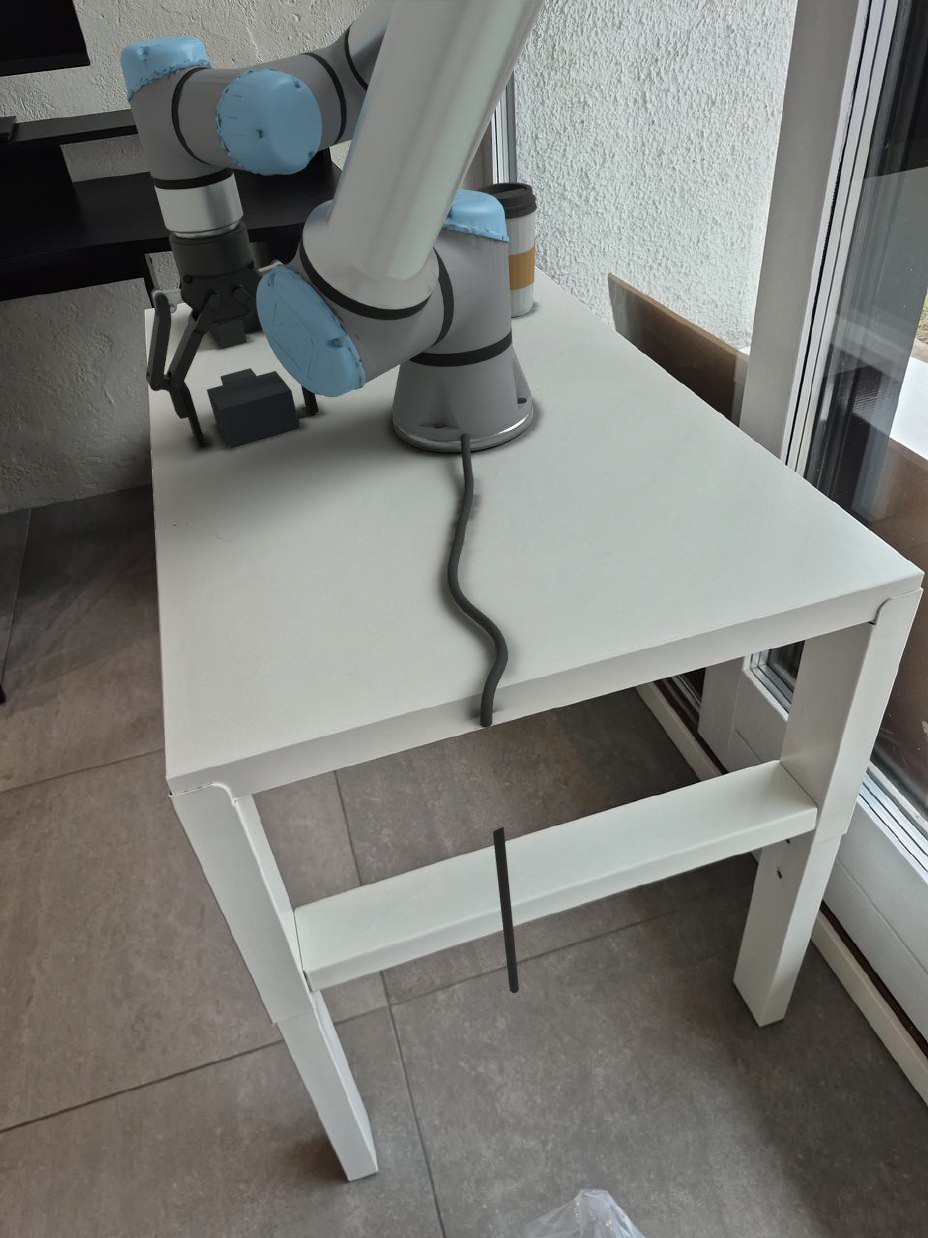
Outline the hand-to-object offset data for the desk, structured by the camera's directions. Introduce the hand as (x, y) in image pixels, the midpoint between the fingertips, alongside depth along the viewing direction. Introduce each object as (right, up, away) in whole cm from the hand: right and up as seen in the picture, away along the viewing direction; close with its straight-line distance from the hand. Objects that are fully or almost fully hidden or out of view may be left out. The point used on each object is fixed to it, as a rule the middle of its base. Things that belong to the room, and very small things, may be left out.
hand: (257, 424), depth 101 cm
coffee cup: (+30, +20, +21) cm, 41 cm away
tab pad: (0, 0, +1) cm, 1 cm away
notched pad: (-7, +20, +25) cm, 33 cm away
